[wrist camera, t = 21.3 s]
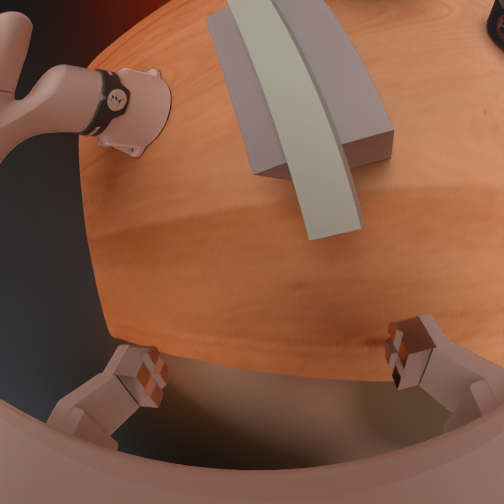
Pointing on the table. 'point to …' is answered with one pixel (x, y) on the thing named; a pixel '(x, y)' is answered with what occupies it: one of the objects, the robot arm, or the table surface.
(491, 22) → the soda can
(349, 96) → the block
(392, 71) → the table surface
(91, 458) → the robot arm
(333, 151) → the batten
